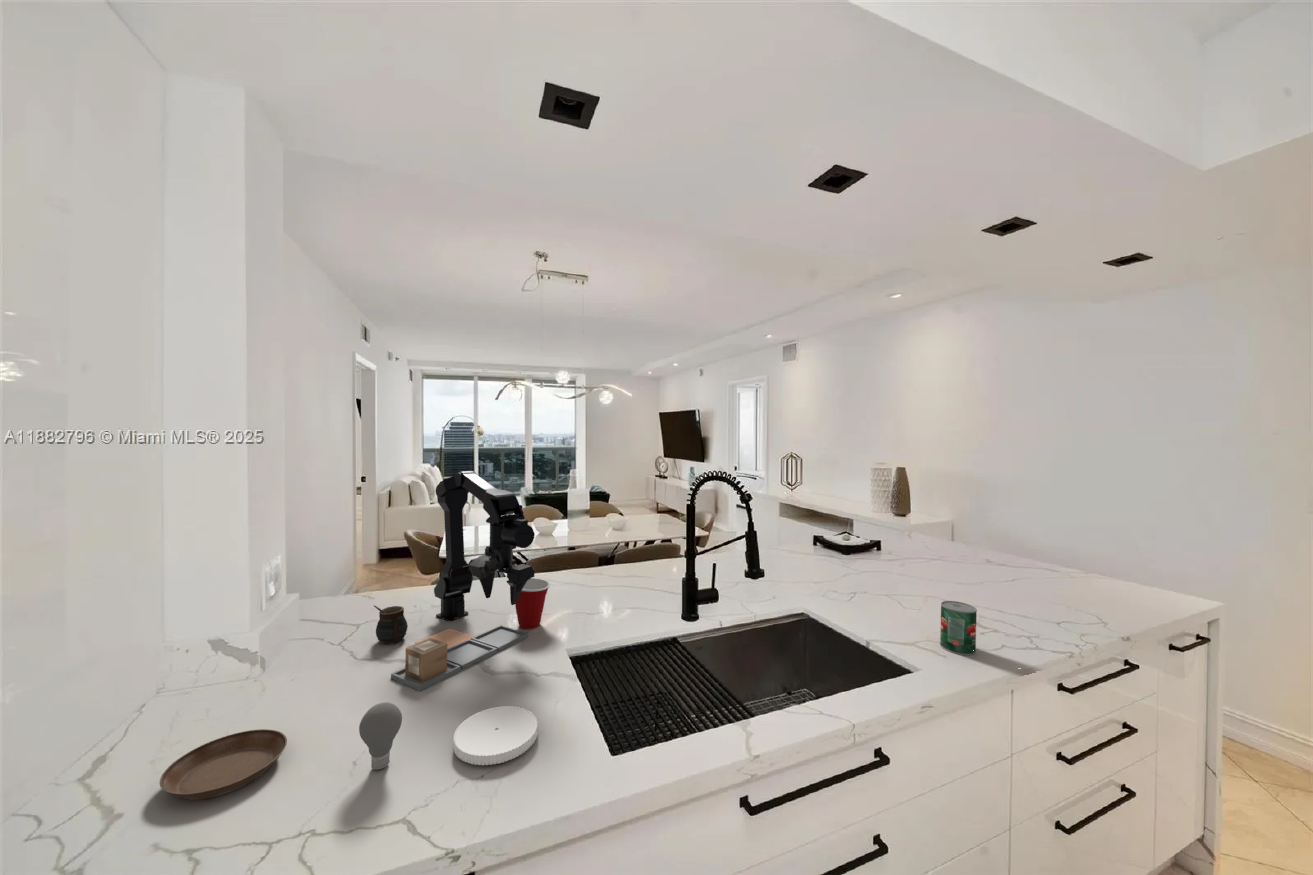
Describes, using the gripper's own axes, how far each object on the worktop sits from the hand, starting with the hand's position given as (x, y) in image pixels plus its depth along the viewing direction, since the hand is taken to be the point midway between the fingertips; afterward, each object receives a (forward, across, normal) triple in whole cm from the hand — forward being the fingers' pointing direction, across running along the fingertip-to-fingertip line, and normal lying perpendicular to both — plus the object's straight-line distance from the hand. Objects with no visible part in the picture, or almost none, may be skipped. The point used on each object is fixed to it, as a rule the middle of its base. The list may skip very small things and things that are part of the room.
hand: (500, 601), depth 124 cm
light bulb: (+10, +20, -43) cm, 49 cm away
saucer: (+10, +1, -56) cm, 57 cm away
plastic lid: (+10, +31, -29) cm, 44 cm away
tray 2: (+10, 0, -10) cm, 14 cm away
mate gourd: (+10, -23, -15) cm, 29 cm away
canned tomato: (+10, +104, +58) cm, 120 cm away
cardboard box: (+10, 0, -21) cm, 23 cm away
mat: (+10, -11, -8) cm, 17 cm away
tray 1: (+10, 0, -21) cm, 23 cm away
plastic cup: (+10, 0, +11) cm, 15 cm away
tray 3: (+10, 0, 0) cm, 10 cm away
